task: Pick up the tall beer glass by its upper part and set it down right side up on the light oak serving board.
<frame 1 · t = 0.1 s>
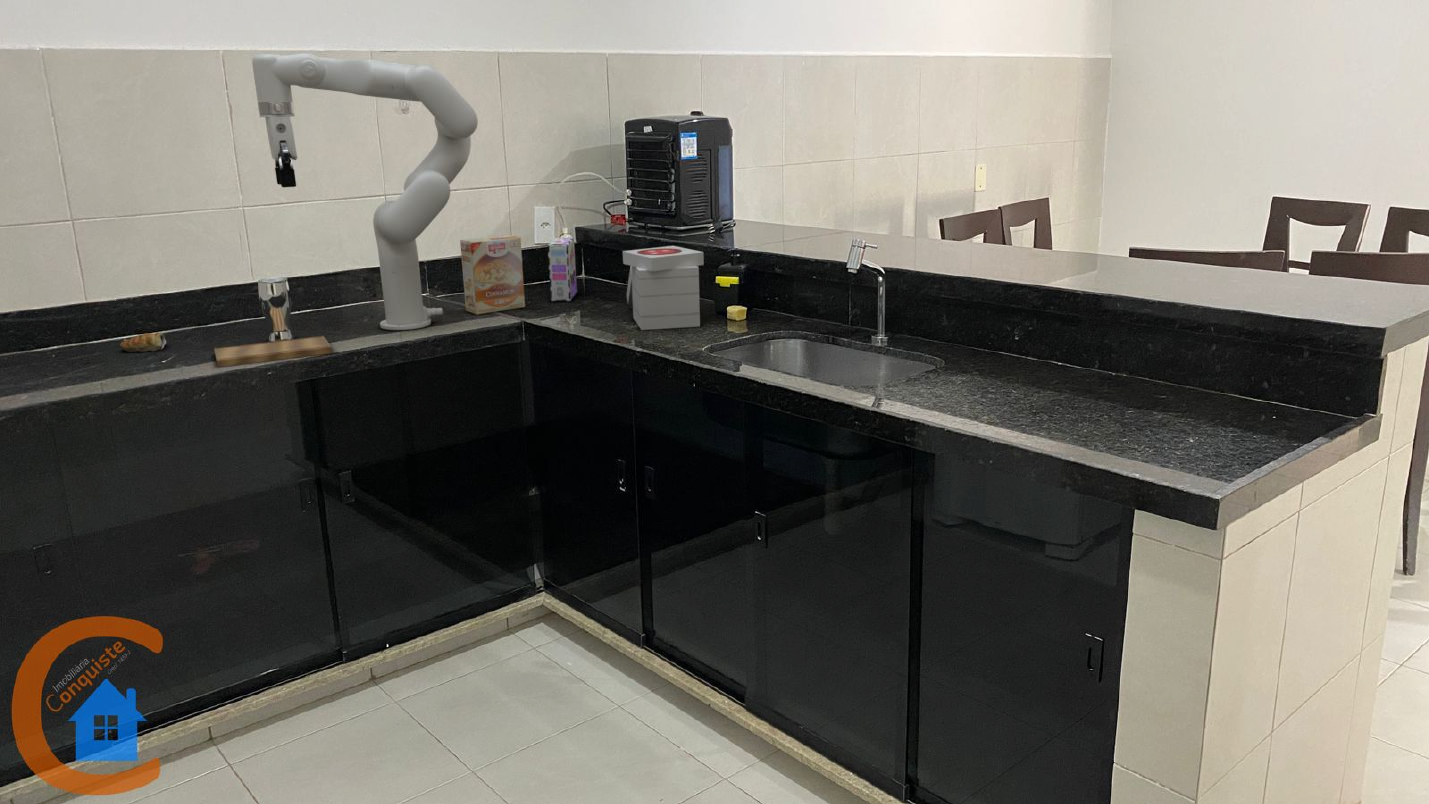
hand: (286, 185, 241), 37 cm above the worktop, tool pointing down, fingers open, 9 cm apart
pizza boxes: (661, 318, 266), on the worktop
serving board: (273, 353, 236), on the worktop
coffeecake box: (496, 309, 281), on the worktop
beer glass: (281, 341, 249), on the worktop
candy box: (564, 297, 296), on the worktop
pastry: (147, 350, 243), on the worktop
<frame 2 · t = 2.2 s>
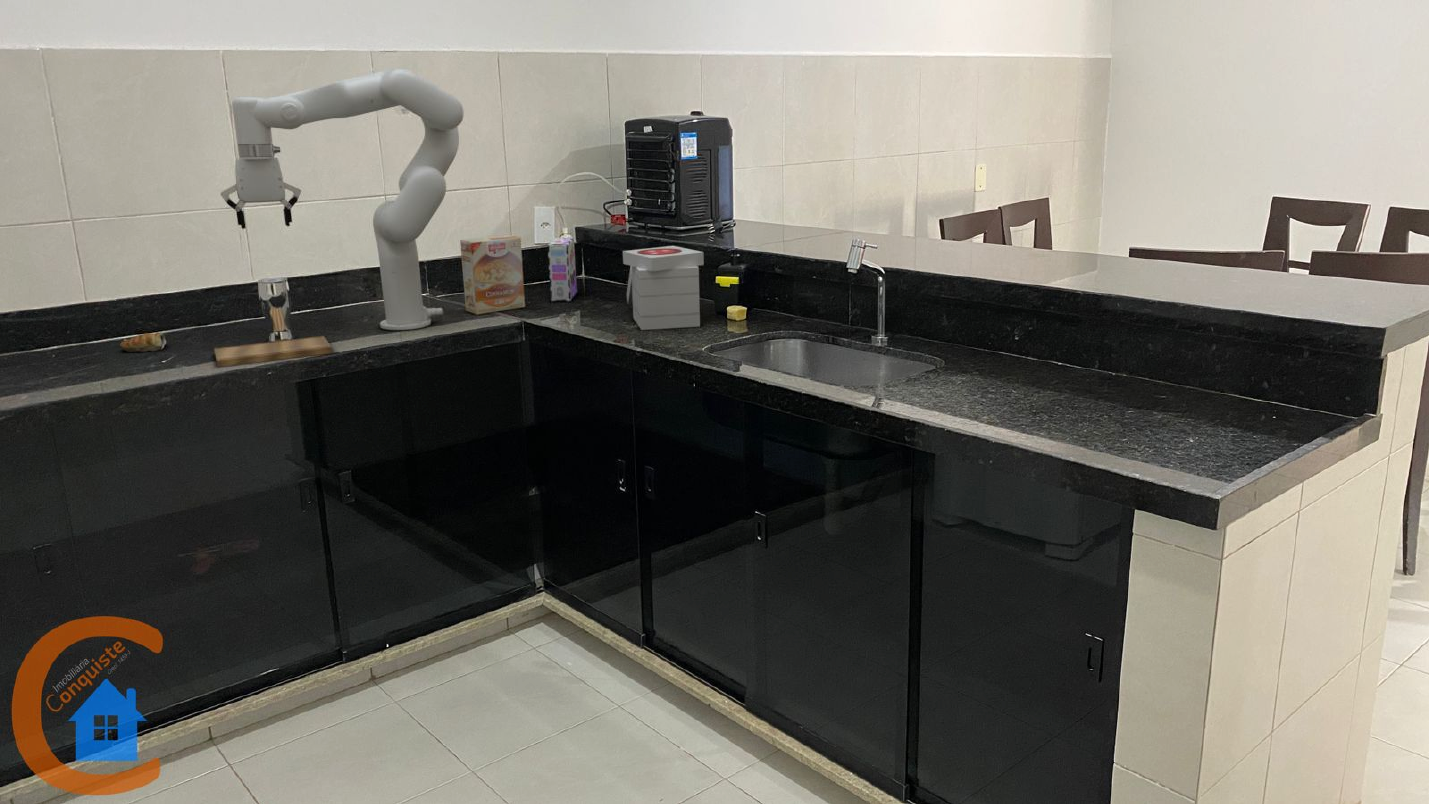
hand: (265, 226, 241), 28 cm above the worktop, tool pointing down, fingers open, 9 cm apart
nothing on the worktop moved.
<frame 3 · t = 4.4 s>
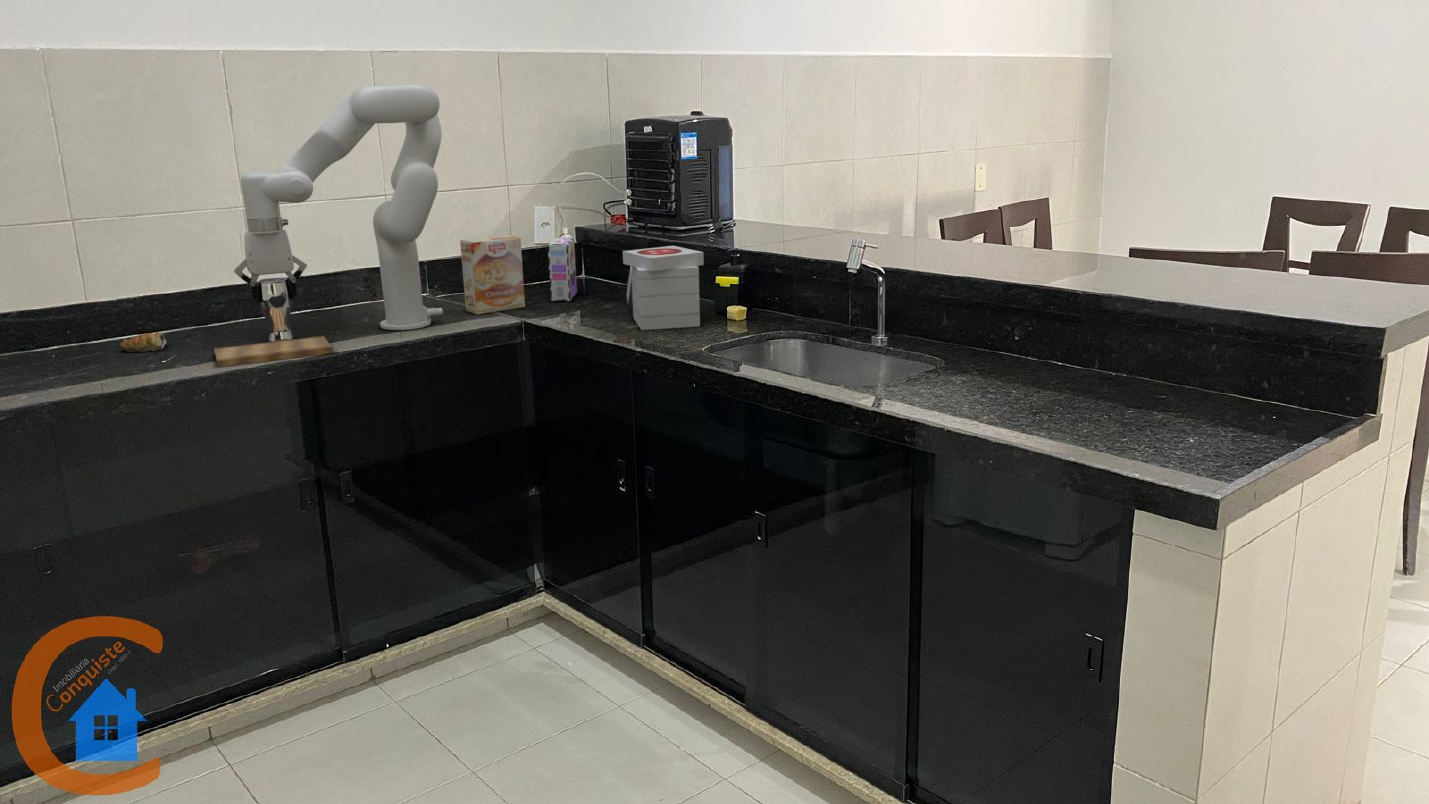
hand: (275, 299, 245), 10 cm above the worktop, tool pointing down, fingers closed on beer glass, 7 cm apart
beer glass: (281, 341, 249), on the worktop, touching gripper
everything else where it was.
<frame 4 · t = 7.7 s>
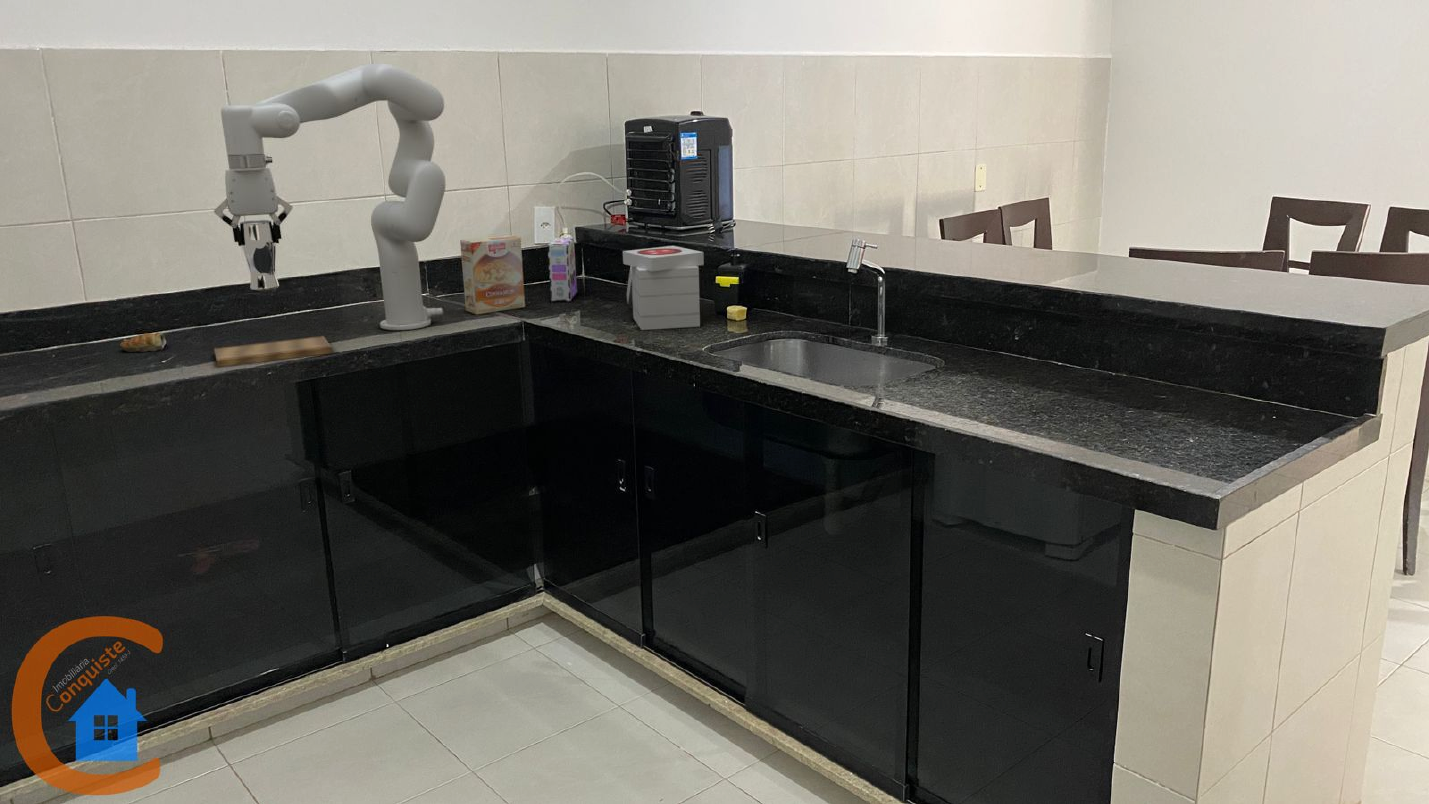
hand: (258, 243, 230), 25 cm above the worktop, tool pointing down, fingers closed on beer glass, 7 cm apart
beer glass: (265, 288, 233), point 15 cm above the worktop, touching gripper
everything else where it was.
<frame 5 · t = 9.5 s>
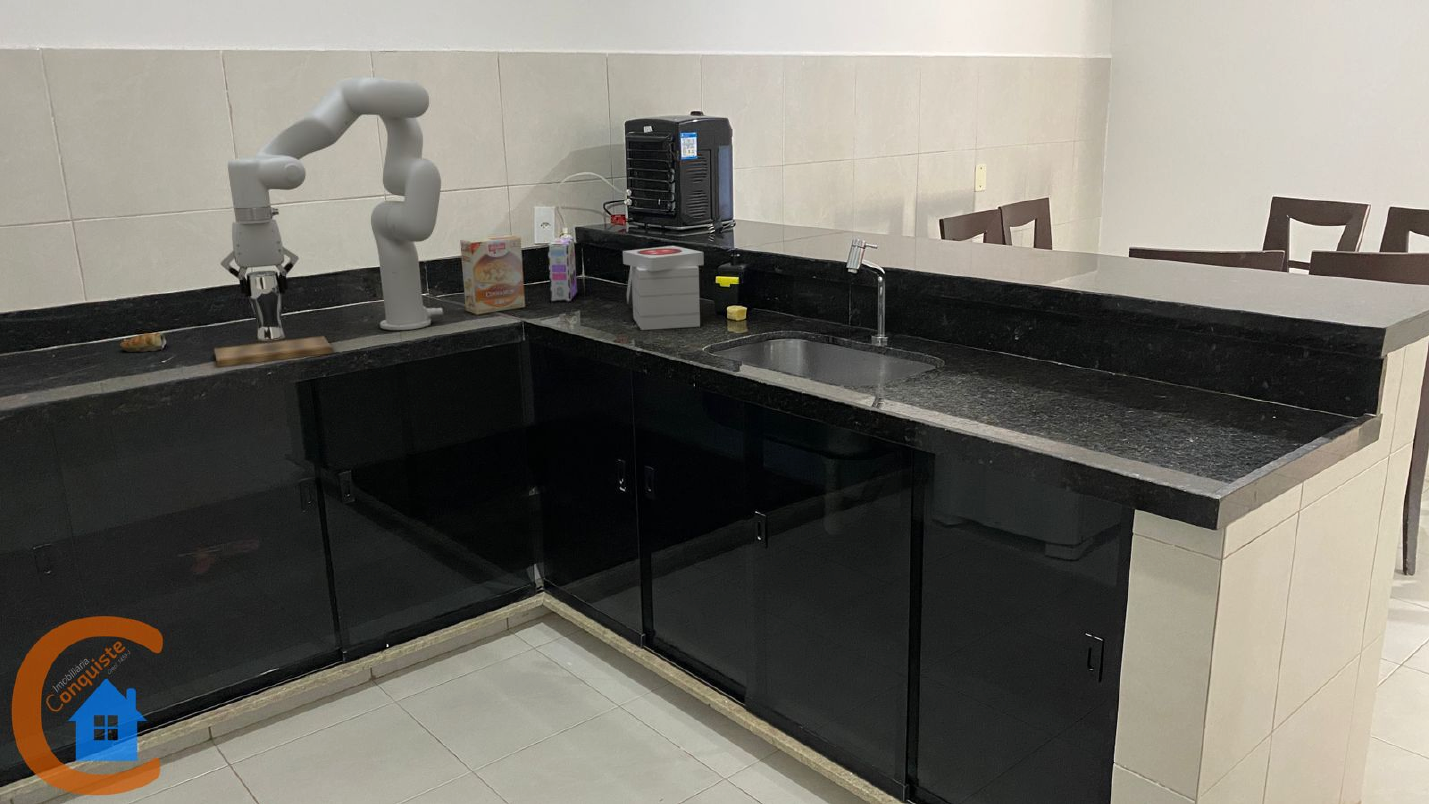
hand: (265, 293, 231), 14 cm above the worktop, tool pointing down, fingers closed on beer glass, 7 cm apart
beer glass: (271, 338, 234), point 4 cm above the worktop, touching gripper
everything else where it was.
when the fingers open (12 cm above the worktop, at t = 10.9 s): beer glass stays where it is, resting on serving board.
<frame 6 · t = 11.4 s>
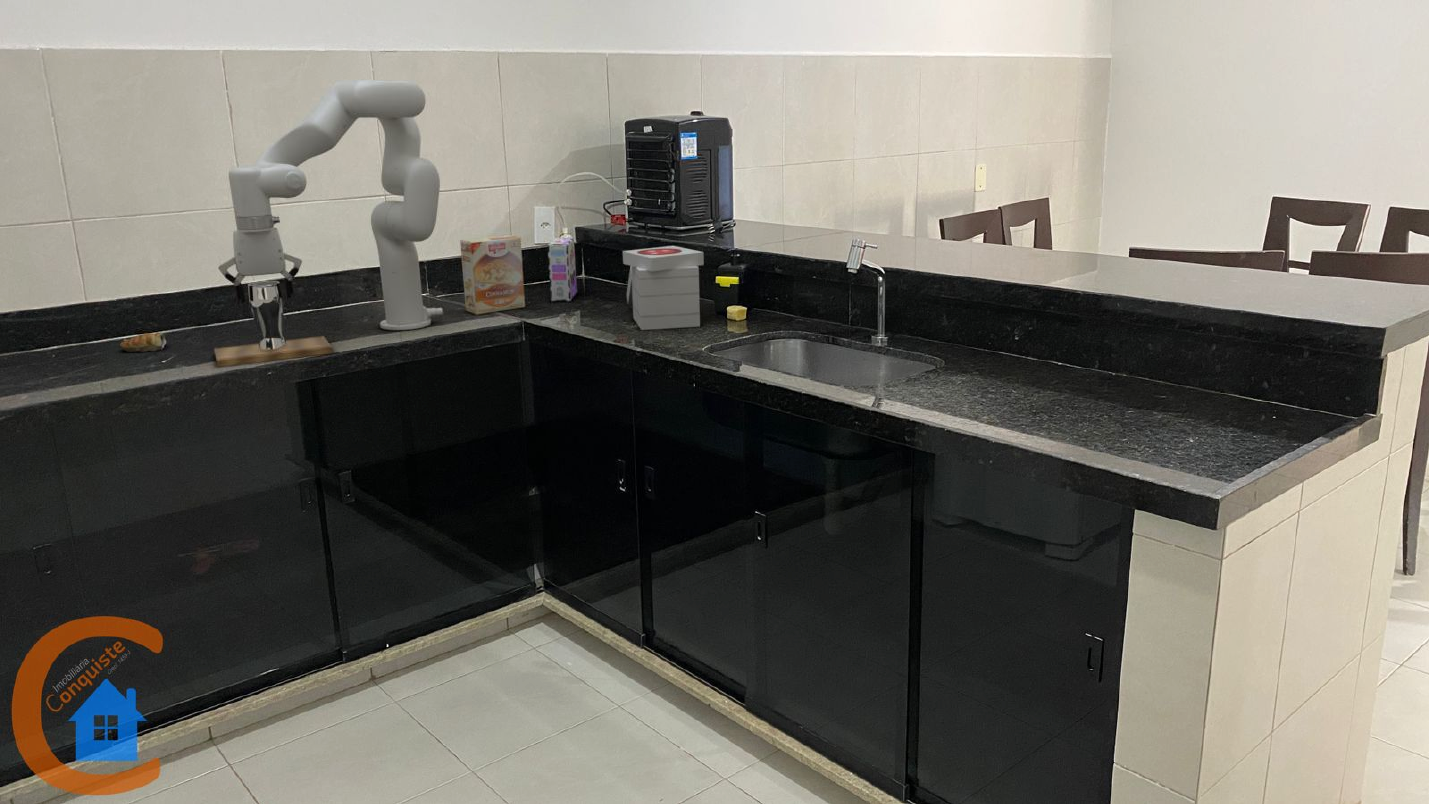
hand: (266, 299, 232), 13 cm above the worktop, tool pointing down, fingers open, 9 cm apart
beer glass: (273, 348, 235), point 1 cm above the worktop, touching serving board
everything else where it was.
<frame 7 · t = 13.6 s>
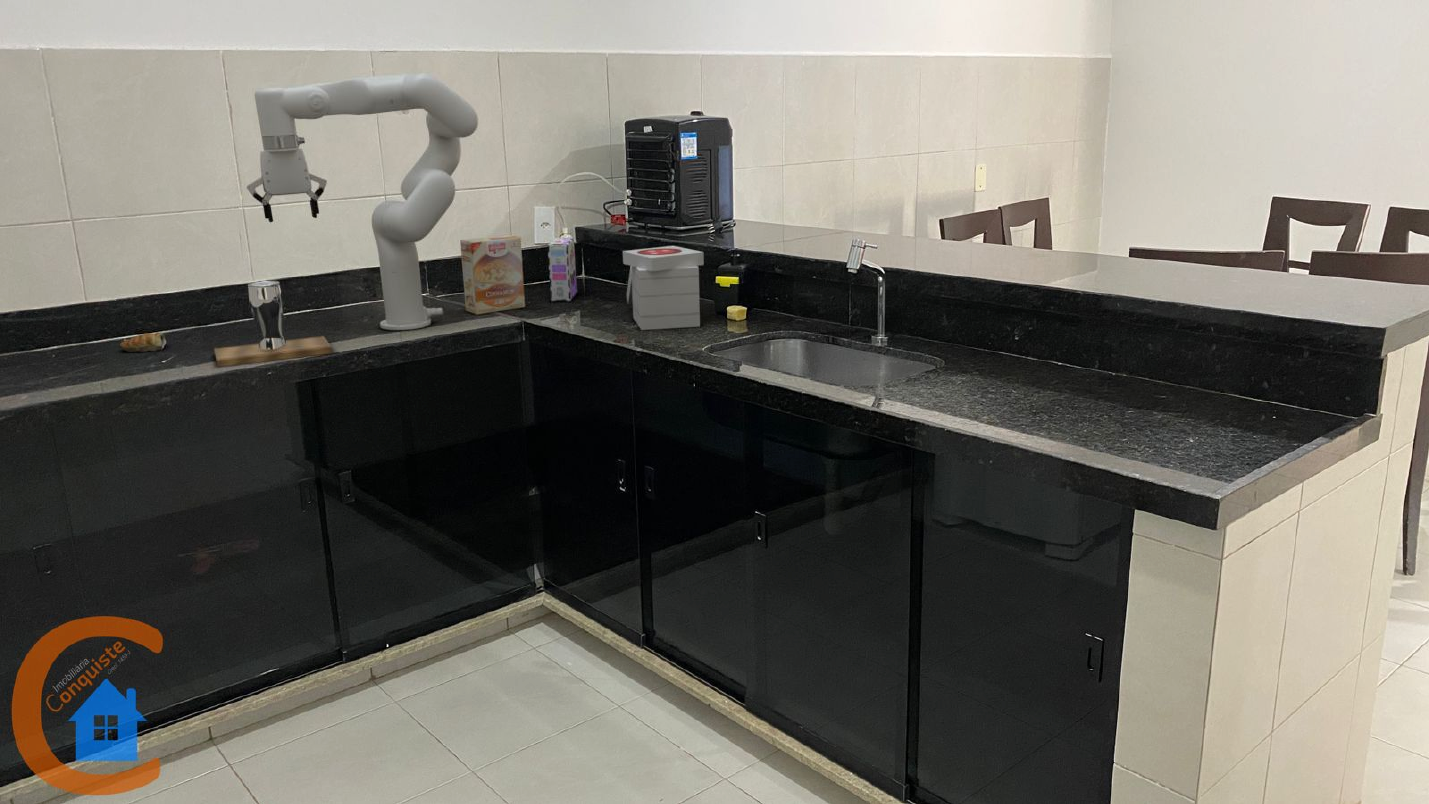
hand: (293, 219, 238), 29 cm above the worktop, tool pointing down, fingers open, 9 cm apart
nothing on the worktop moved.
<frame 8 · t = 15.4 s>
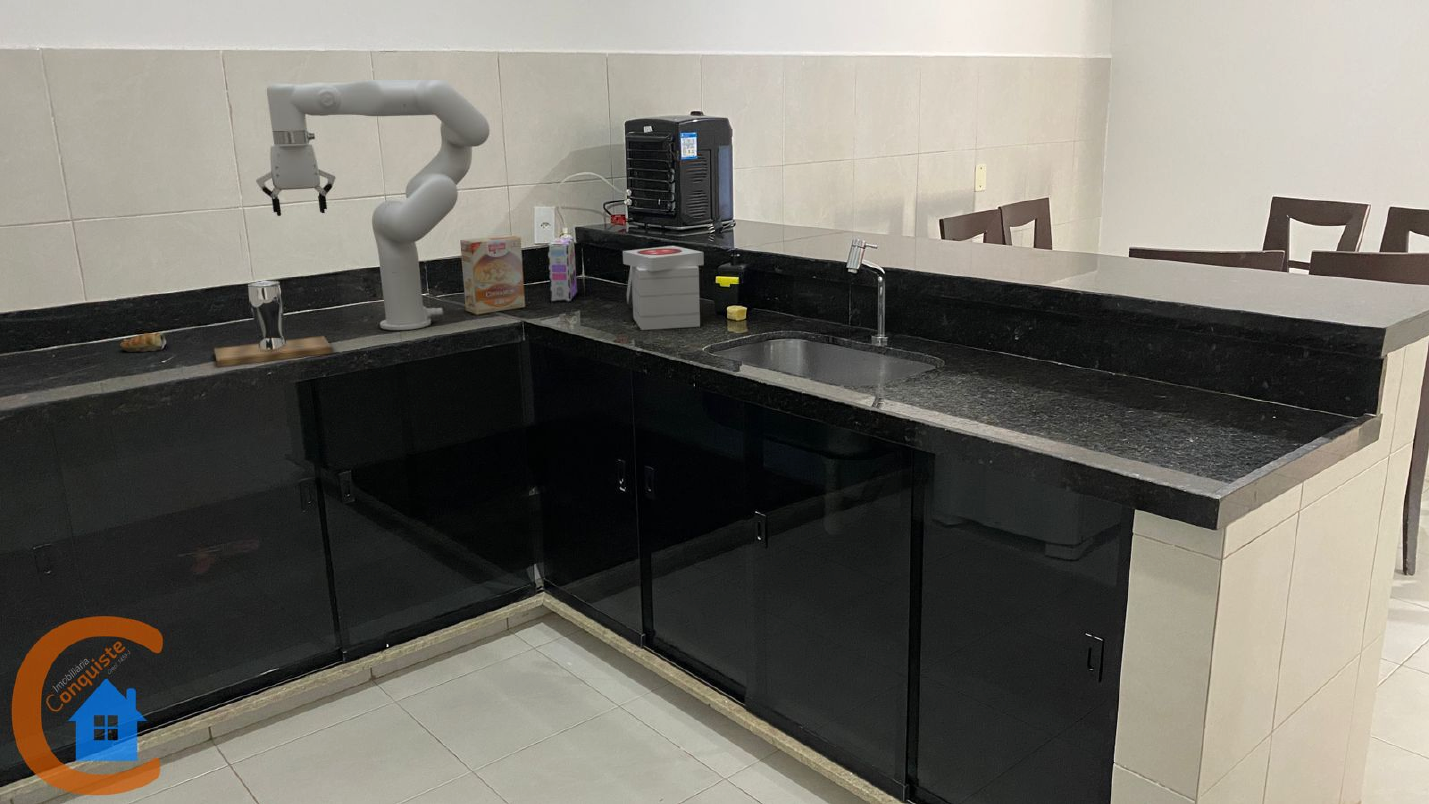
hand: (301, 214, 241), 30 cm above the worktop, tool pointing down, fingers open, 9 cm apart
nothing on the worktop moved.
at the end: beer glass inside the target area (0.5 cm from its centre), point 1.3 cm above the worktop; beer glass tilted 0°; the gripper is holding nothing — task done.
